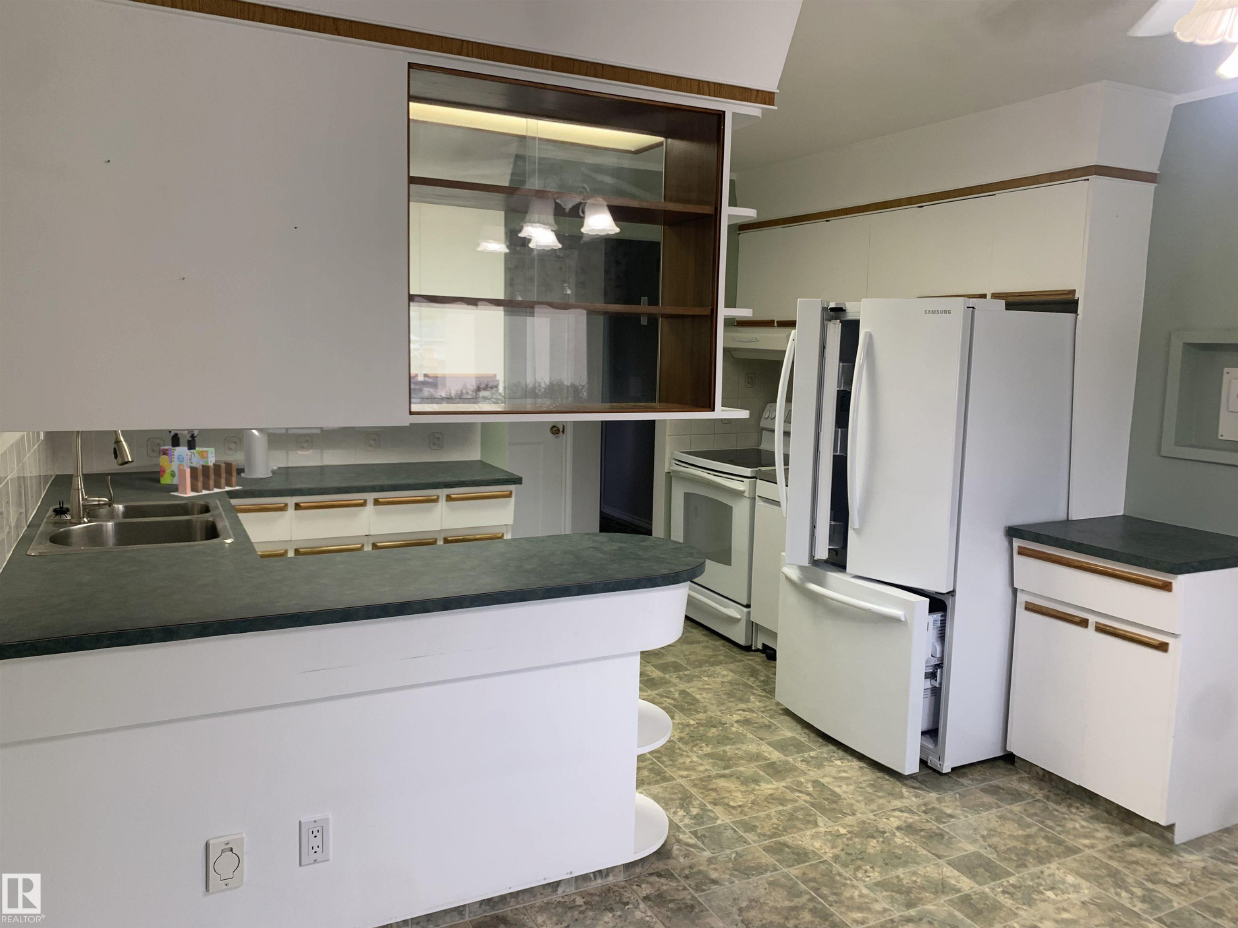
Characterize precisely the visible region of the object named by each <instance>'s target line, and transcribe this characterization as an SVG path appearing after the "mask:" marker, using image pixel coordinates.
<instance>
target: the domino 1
mask: <svg viewBox="0 0 1238 928" xmlns="http://www.w3.org/2000/svg"><path fill="white" fill-rule="evenodd" d="M177 486H178V489H177V490H178V492H179V493H180V494H185V495H190V494H191V487H190V468H184V467H178V484H177Z"/></svg>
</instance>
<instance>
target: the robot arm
mask: <svg viewBox="0 0 1238 928" xmlns="http://www.w3.org/2000/svg"><path fill="white" fill-rule="evenodd" d="M242 430H243V429H242ZM168 433H169V437H170V444H171V447H172V448H175V447H181V440H180V438H181V437H180V436H179V435H185V437H186V438H187V439H186V447H187V450H196V448H197V441H196V440H197V439H198V433H199V429H198V430H193V431H169V430H168ZM268 438H269V437H268V433H267V431H266V429H265V430H243V450H244V451H243V455H244V456H243V457H244V461H243V462H244V472H241V473H240V477H242V478H248V479H249V478H250V479H251V478H252V479H264V478H265V479H266V478H270V477H272V476H273V472H272V471H277V470H278V469H279V468H278V465H271V464H269V445H268V444H269V442H268V440H269V439H268Z"/></svg>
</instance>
